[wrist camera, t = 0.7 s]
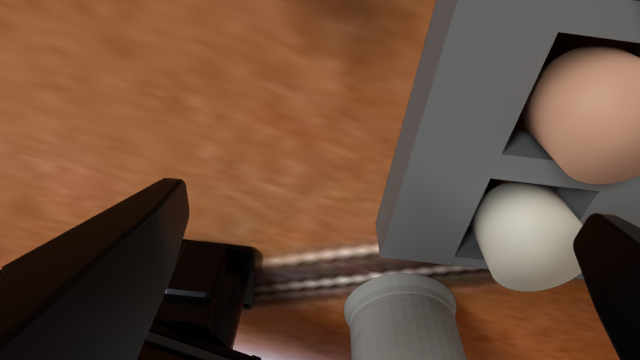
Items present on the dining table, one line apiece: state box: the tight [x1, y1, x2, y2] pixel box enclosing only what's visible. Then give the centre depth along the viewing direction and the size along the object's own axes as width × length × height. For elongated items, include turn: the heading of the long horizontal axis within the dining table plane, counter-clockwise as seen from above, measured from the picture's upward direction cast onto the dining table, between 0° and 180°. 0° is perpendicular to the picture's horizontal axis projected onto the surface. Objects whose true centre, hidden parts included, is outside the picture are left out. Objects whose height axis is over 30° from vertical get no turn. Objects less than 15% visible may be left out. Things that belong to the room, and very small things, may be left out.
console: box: [376, 0, 640, 280], centre depth 18 cm, size 21×14×3 cm, turn 173°
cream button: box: [470, 181, 582, 292], centre depth 20 cm, size 5×5×3 cm
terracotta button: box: [522, 44, 640, 184], centre depth 16 cm, size 5×5×3 cm
